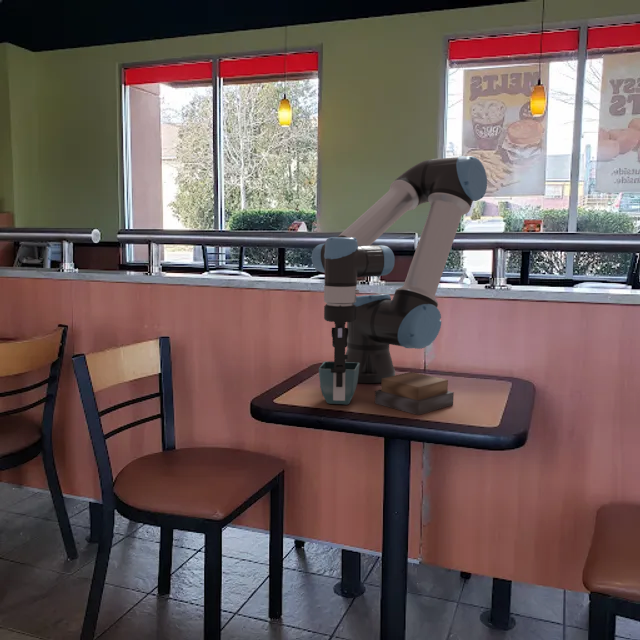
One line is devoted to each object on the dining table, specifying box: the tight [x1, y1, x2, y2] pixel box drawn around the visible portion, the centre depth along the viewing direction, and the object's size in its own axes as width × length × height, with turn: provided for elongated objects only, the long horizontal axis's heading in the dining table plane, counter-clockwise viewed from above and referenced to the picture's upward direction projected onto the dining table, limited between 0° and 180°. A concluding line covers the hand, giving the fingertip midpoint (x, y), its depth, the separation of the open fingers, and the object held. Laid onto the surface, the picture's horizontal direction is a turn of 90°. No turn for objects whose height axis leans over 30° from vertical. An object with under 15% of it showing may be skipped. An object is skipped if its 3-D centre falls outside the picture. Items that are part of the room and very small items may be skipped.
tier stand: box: [374, 371, 455, 416], centre depth 153 cm, size 13×13×6 cm
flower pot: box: [318, 361, 360, 405], centre depth 154 cm, size 9×9×9 cm
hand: (339, 392), depth 154 cm, fingers open, 13 cm apart
